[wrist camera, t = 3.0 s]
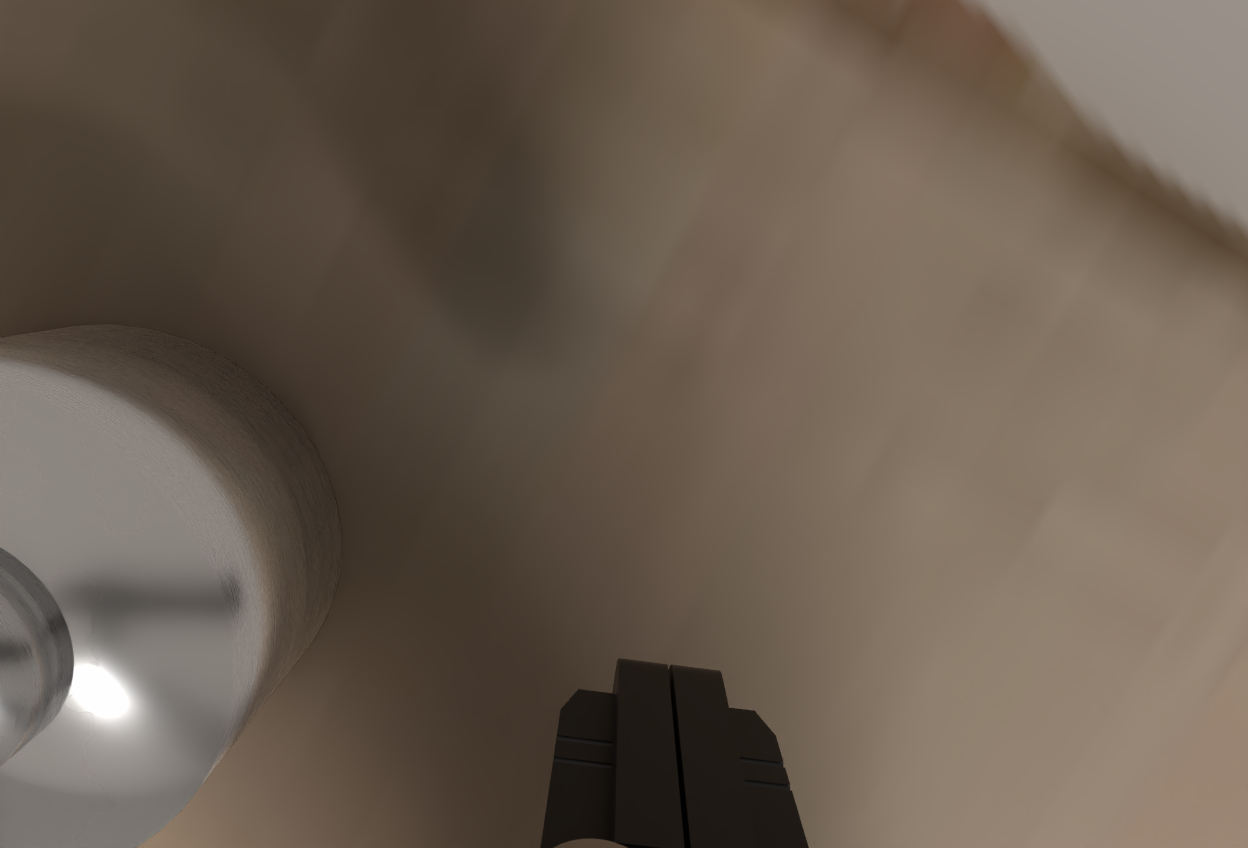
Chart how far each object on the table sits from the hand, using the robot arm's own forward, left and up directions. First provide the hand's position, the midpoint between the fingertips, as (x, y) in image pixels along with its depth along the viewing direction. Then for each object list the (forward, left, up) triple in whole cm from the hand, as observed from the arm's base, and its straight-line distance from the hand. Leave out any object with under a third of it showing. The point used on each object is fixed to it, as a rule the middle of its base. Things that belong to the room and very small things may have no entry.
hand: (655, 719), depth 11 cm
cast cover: (+11, 0, -6) cm, 13 cm away
